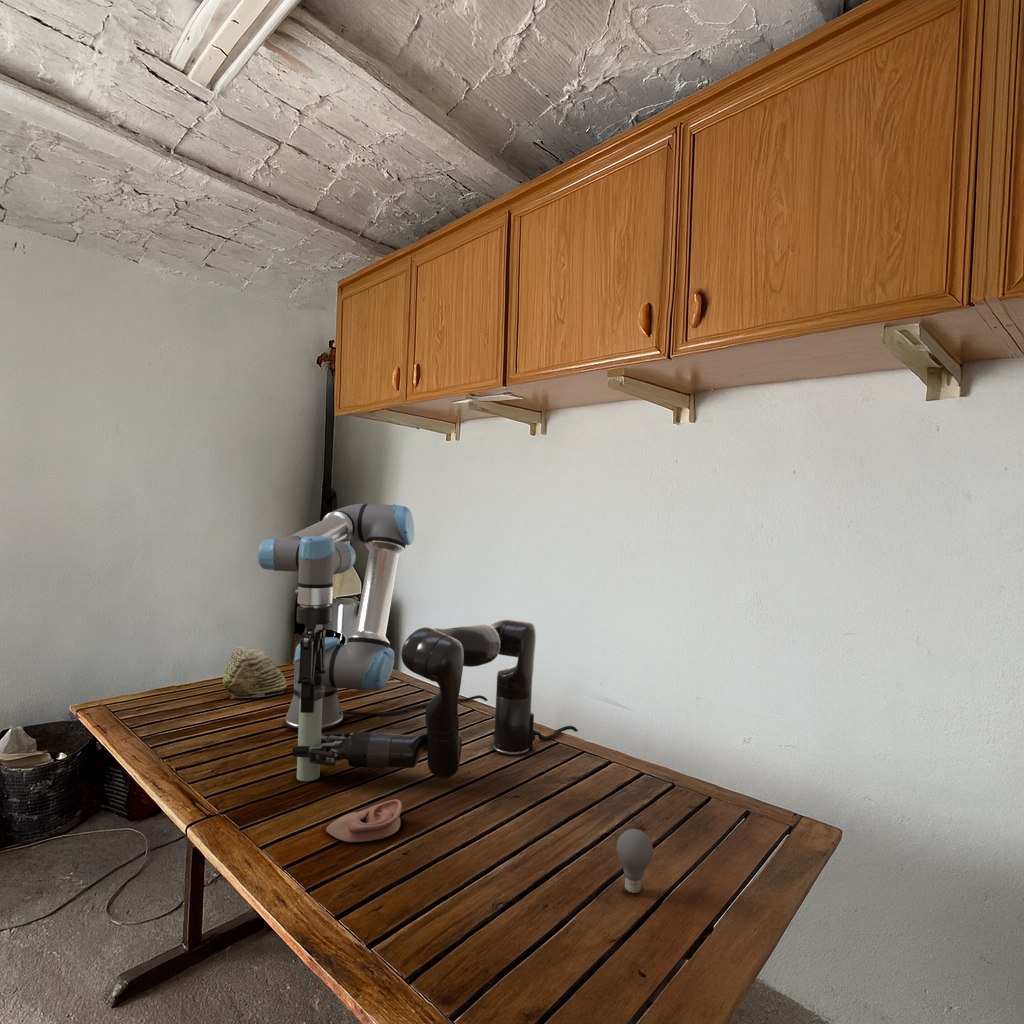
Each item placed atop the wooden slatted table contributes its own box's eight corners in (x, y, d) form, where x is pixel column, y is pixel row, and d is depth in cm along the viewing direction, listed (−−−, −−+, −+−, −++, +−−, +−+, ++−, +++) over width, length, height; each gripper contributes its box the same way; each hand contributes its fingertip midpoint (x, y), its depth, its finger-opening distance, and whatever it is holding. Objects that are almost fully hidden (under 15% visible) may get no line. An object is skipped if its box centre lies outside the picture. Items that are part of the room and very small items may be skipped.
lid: (328, 697, 142) (328, 689, 142) (303, 702, 139) (304, 693, 139) (318, 691, 147) (318, 683, 147) (294, 695, 143) (294, 687, 143)
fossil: (218, 695, 195) (220, 647, 195) (278, 685, 208) (279, 640, 207) (228, 703, 189) (230, 653, 188) (289, 692, 201) (290, 645, 201)
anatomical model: (318, 816, 117) (346, 789, 129) (317, 837, 118) (346, 808, 129) (385, 827, 115) (408, 798, 126) (384, 848, 115) (407, 818, 126)
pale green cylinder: (323, 777, 143) (326, 691, 142) (301, 783, 140) (305, 694, 139) (314, 770, 146) (317, 685, 146) (293, 775, 143) (296, 689, 143)
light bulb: (610, 879, 108) (613, 822, 108) (644, 879, 109) (647, 822, 109) (619, 902, 102) (622, 840, 102) (655, 901, 103) (658, 840, 103)
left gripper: (308, 598, 151) (304, 694, 152) (285, 611, 133) (281, 721, 133) (340, 599, 152) (336, 695, 152) (321, 613, 133) (317, 722, 134)
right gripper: (380, 722, 150) (308, 718, 150) (365, 745, 136) (286, 741, 136) (378, 753, 150) (307, 750, 150) (364, 780, 136) (285, 776, 136)
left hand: (310, 707), depth 143 cm, fingers closed on lid, 5 cm apart
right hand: (297, 746), depth 143 cm, fingers closed on pale green cylinder, 5 cm apart
